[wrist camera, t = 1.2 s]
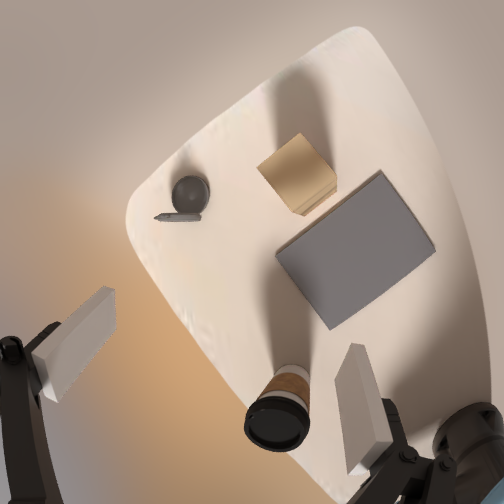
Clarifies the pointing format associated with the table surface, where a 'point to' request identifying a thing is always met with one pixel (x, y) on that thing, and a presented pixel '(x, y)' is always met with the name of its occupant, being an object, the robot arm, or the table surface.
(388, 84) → the table surface
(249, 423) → the coffee cup
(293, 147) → the oak block
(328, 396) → the table surface
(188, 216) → the pocket watch
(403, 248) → the rubber mat
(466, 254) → the table surface
